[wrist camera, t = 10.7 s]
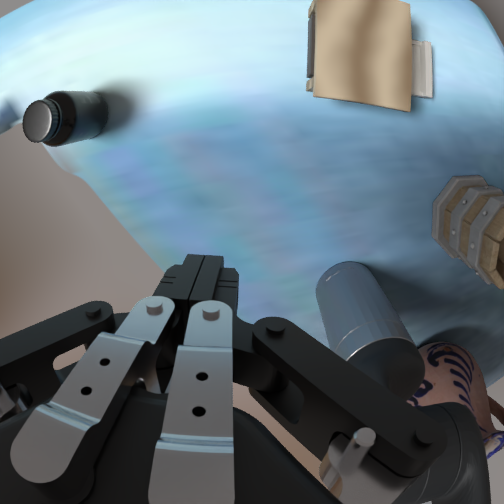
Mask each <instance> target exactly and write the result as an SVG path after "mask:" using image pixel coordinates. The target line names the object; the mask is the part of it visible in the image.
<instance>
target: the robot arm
mask: <svg viewBox="0 0 504 504" xmlns="http://www.w3.org/2000/svg"><path fill="white" fill-rule="evenodd" d="M238 285H239V274H238V272H237V271H236V269H235V268H224V258H223V256H212V255H206V256H205V255H195V254H188V255H187V256H186V258H185V260H184V262H183V264H182V265H173V266H172V267H170V268H169V269H167V271H166V272H165V274H164V277H163V278H162V279H161V281H160V283H159V285H158V287H157V288H156V290H155V292H154V294H153V295H152V296H151V297H147V298H144V299H142V300H140V301H139V302H138V303H137V304H136V305H135V306H134V308H133V309H132V310H131V312H128V313H117V314H114V313H113V309H112V306H111V305H110V304H109V303H107V302H104V301H92V302H88V303H86V304H83V305H80V306H78V307H76V308H73V309H71V310H68V311H66V312H63V313H61V314H59V315H56V316H54V317H52V318H49V319H47V320H44V321H42V322H39V323H37V324H35V325H32V326H30V327H28V328H25V329H23V330H21V331H18V332H16V333H13V334H11V335H9V336H6V337H4V338H2V339H0V504H422V503H425V502H428V501H432V504H491V494H490V482H489V472H488V464H487V457H486V451H485V446H484V441H483V437H482V434H481V431H480V428H479V425H478V423H477V421H476V419H475V417H474V416H473V414H472V413H471V411H470V410H469V409H468V408H467V407H466V406H464V405H462V404H460V403H458V402H444V403H438V404H432V405H427V406H422V407H416V408H415V407H414V406H412V405H411V404H409V403H408V402H406V401H407V400H408V399H410V398H411V397H412V396H413V395H414V394H415V393H416V391H417V390H418V389H419V387H420V386H421V384H422V382H423V380H424V376H425V363H424V360H423V358H422V356H421V354H420V352H419V351H418V349H417V347H416V345H415V343H414V342H413V340H412V338H411V336H410V335H409V333H408V331H407V330H406V328H405V326H404V325H403V323H402V321H401V320H400V318H399V316H398V315H397V313H396V311H395V310H394V308H393V306H392V305H391V303H390V301H389V300H388V298H387V297H386V295H385V293H384V292H383V290H382V289H381V287H380V285H379V284H378V282H377V281H376V279H375V278H374V276H373V275H372V273H371V272H370V270H369V269H368V268H367V267H366V266H364V265H362V264H360V263H356V262H345V263H340V264H337V265H335V266H333V267H331V268H330V269H329V270H327V271H326V272H325V273H324V274H323V276H322V277H321V278H320V280H319V282H318V284H317V288H316V297H317V301H318V305H319V309H320V313H321V316H322V320H323V324H324V327H325V331H326V335H327V338H328V342H329V346H330V349H329V348H327V347H326V346H324V345H323V344H322V343H320V342H319V341H317V340H316V339H315V338H313V337H312V336H310V335H309V334H308V333H306V332H305V331H303V330H302V329H301V328H299V327H298V326H296V325H295V324H294V323H292V322H291V321H289V320H287V319H284V318H280V317H266V318H262V319H260V320H258V321H257V322H256V323H255V324H254V325H253V324H250V323H247V322H244V321H242V320H241V319H240V318H238V317H237V308H238ZM82 344H84V346H85V349H86V352H85V353H84V355H83V356H82V358H81V359H80V360H79V361H77V362H75V363H73V364H71V365H69V366H67V367H64V368H62V369H60V370H54V368H53V361H54V359H55V358H56V357H57V356H59V355H61V354H63V353H65V352H67V351H69V350H72V349H74V348H75V347H78V346H80V345H82ZM233 382H234V383H238V384H240V385H243V386H247V387H249V392H250V394H251V396H252V397H253V398H254V399H255V400H256V401H257V402H258V403H259V404H260V405H261V406H262V407H263V408H264V409H265V410H266V411H267V412H268V413H269V414H270V415H271V416H272V417H274V418H275V420H277V421H278V422H279V423H280V424H281V425H282V426H283V427H284V428H285V429H286V430H287V431H288V432H289V433H290V434H291V435H293V436H294V437H295V438H296V439H297V440H298V441H299V442H300V443H301V444H302V445H303V446H305V447H306V448H307V449H308V450H309V451H310V452H311V453H312V454H314V455H315V456H316V457H317V458H318V459H319V460H320V461H321V464H320V467H319V475H320V478H321V480H322V481H323V483H324V484H325V485H326V486H327V487H328V489H329V490H328V489H326V487H324V486H323V485H322V484H321V483H320V482H319V481H318V480H317V479H316V478H315V477H314V476H313V475H312V474H311V473H310V472H309V471H307V469H306V468H305V467H304V466H303V465H302V464H301V463H300V462H298V461H297V460H296V458H295V457H294V456H293V455H292V454H291V453H290V452H288V450H287V449H286V448H285V447H284V446H283V445H282V444H281V443H280V442H279V441H278V440H277V439H276V438H275V437H274V436H273V435H272V434H271V432H270V431H269V430H268V429H267V428H266V427H265V426H264V425H263V424H262V423H261V422H259V421H258V420H257V419H256V418H254V417H253V416H251V415H250V414H248V413H246V412H244V411H242V410H240V409H238V408H235V407H233Z"/></svg>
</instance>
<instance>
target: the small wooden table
mask: <svg viewBox="0 0 504 504" xmlns="http://www.w3.org/2000/svg"><path fill="white" fill-rule="evenodd" d="M308 18H310V19H309V21H308V57H307V78H311V79H310V80H308V81H307V84H306V91H310V92H313V97H319V98H327V99H335V100H342V101H349V102H356V103H362V104H368V105H374V106H379V107H384V108H390V109H394V110H399V111H404V112H410V109H411V87H412V34H411V14H410V4H408V3H405V2H402V1H399V0H313V1H312V3H311V6H310V8H309V11H308Z"/></svg>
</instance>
